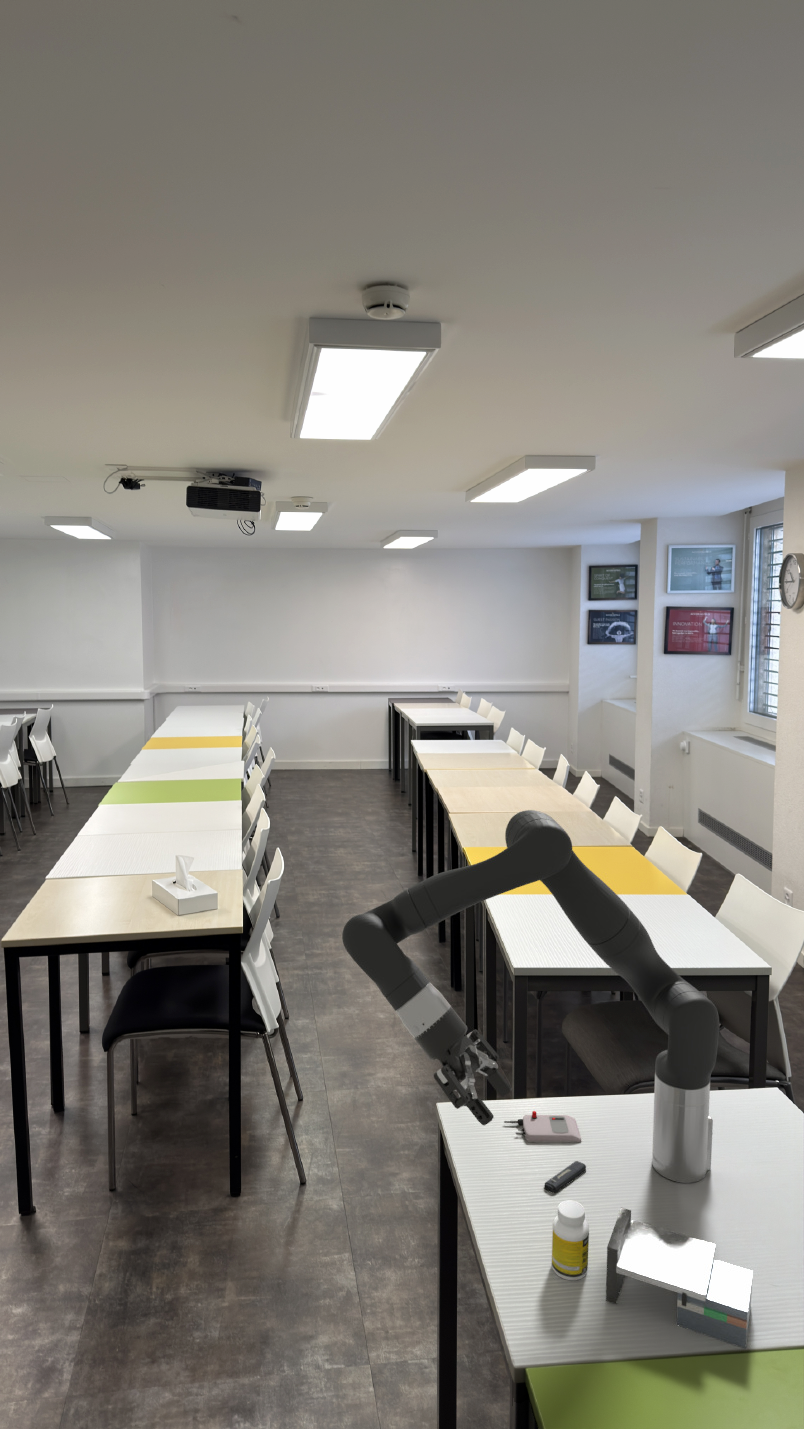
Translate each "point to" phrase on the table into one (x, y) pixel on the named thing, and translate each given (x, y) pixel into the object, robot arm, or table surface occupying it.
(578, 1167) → the usb stick
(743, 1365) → the table surface
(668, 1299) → the table surface
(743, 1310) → the gauge housing
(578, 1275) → the supplement bottle
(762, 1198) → the table surface
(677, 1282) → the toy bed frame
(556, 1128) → the electrical tester
